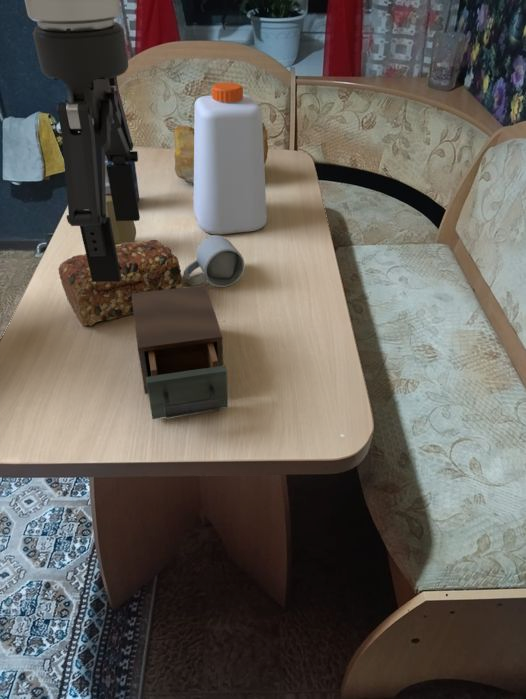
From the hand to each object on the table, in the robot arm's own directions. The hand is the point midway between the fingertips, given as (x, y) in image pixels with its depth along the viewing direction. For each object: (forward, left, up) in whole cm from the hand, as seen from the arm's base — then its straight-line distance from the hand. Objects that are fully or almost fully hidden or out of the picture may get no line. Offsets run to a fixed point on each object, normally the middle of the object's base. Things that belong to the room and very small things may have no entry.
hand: (118, 247), depth 59 cm
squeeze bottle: (+7, +47, -26) cm, 54 cm away
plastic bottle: (+33, +51, -26) cm, 66 cm away
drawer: (+6, +1, -25) cm, 26 cm away
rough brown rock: (+40, +76, -26) cm, 90 cm away
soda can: (+13, +67, -26) cm, 73 cm away
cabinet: (+8, +9, -26) cm, 29 cm away
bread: (+4, +28, -26) cm, 39 cm away
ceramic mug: (+21, +29, -26) cm, 44 cm away
